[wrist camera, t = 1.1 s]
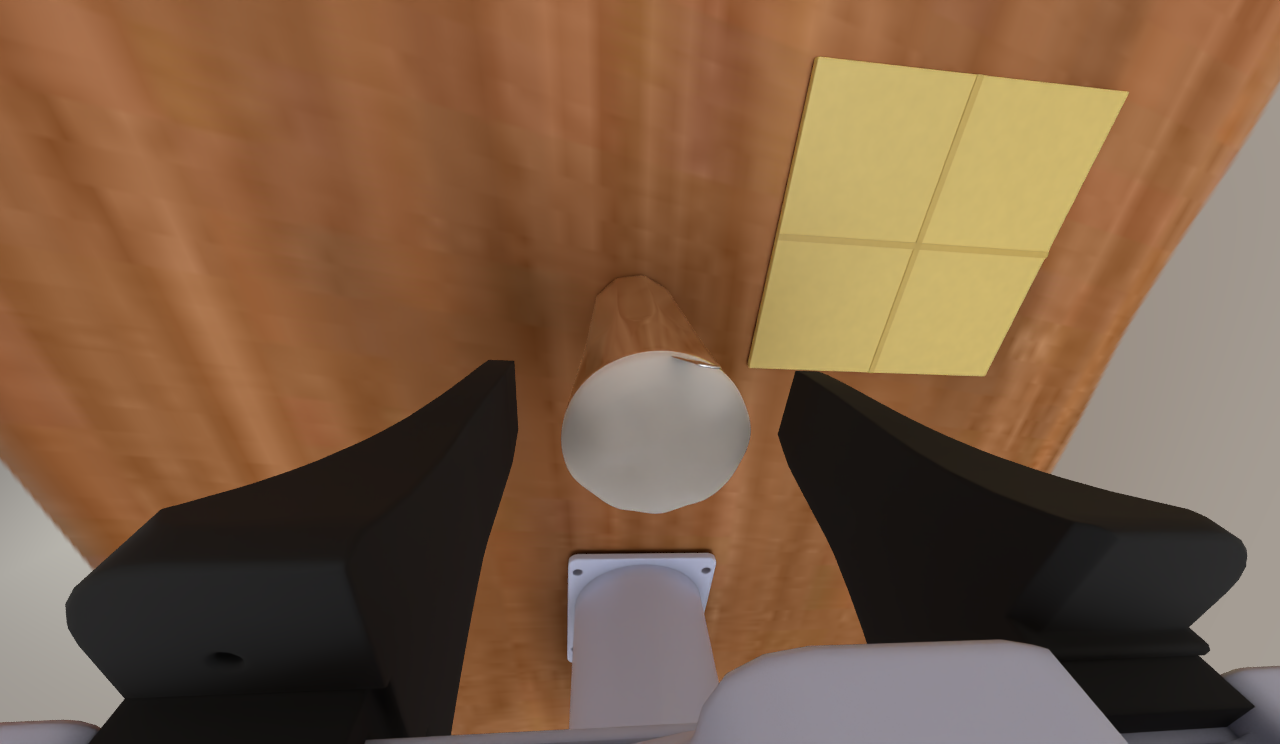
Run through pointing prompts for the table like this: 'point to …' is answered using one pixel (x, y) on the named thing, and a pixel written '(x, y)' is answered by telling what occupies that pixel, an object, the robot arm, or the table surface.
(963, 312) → the napkin
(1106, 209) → the table surface
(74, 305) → the table surface
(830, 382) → the robot arm
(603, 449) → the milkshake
